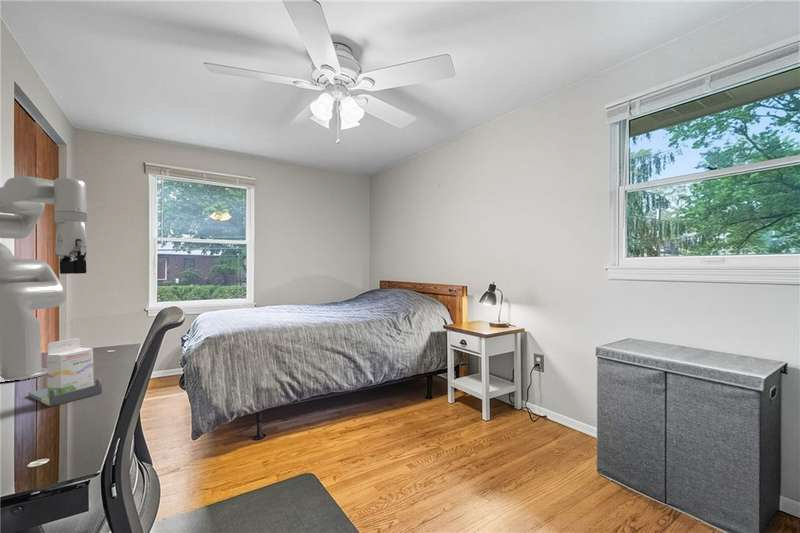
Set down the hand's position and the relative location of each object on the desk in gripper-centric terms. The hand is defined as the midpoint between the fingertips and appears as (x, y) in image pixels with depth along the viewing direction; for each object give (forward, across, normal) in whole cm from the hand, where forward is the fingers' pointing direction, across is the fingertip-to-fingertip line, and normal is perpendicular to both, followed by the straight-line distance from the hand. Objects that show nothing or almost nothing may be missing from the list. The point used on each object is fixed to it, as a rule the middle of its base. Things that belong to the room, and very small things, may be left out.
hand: (73, 273), depth 112 cm
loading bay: (+34, +10, -6) cm, 36 cm away
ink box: (+34, +14, -6) cm, 37 cm away
